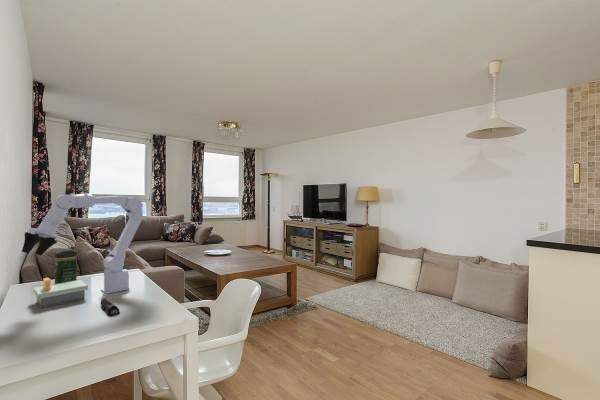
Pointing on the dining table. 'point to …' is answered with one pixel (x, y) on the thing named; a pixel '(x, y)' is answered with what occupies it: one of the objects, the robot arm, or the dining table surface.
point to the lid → (58, 288)
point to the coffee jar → (65, 265)
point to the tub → (60, 299)
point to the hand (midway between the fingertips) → (31, 253)
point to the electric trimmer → (109, 307)
